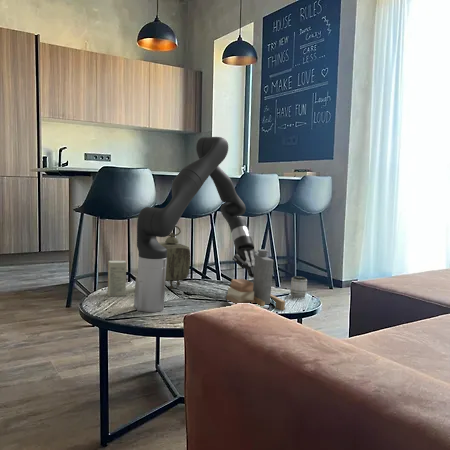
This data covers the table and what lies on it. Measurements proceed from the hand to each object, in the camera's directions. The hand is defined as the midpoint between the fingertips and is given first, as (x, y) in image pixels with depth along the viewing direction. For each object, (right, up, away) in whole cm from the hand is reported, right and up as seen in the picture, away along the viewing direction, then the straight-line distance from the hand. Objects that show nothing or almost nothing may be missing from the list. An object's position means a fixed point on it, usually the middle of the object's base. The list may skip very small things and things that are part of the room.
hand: (253, 276), depth 173 cm
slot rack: (+1, -9, -3) cm, 9 cm away
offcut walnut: (-5, -9, -11) cm, 15 cm away
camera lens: (+19, -9, +9) cm, 22 cm away
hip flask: (+2, -9, -7) cm, 12 cm away
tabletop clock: (-33, -6, +6) cm, 34 cm away
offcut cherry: (-5, -3, -11) cm, 13 cm away
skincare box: (-50, -6, -10) cm, 52 cm away
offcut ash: (-5, -6, -11) cm, 14 cm away
